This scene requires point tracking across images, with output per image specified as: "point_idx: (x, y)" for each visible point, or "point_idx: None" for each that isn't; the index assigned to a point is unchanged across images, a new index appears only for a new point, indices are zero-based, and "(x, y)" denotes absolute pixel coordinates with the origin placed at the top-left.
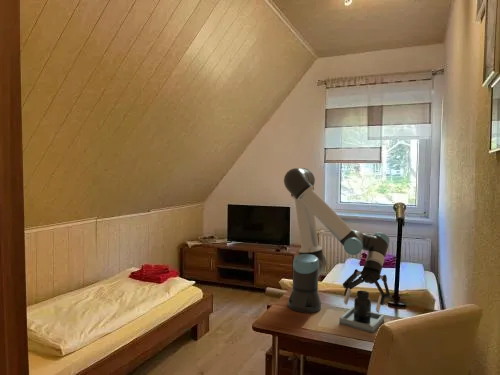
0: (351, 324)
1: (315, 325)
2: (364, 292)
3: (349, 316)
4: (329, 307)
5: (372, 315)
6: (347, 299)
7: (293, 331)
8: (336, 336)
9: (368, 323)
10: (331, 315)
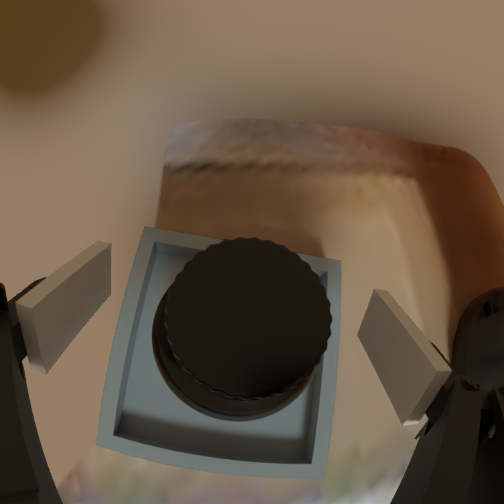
0: None
1: (394, 209)
2: (231, 315)
3: None
4: None
5: (175, 447)
6: (377, 335)
7: (411, 148)
8: (292, 155)
9: None
10: None
